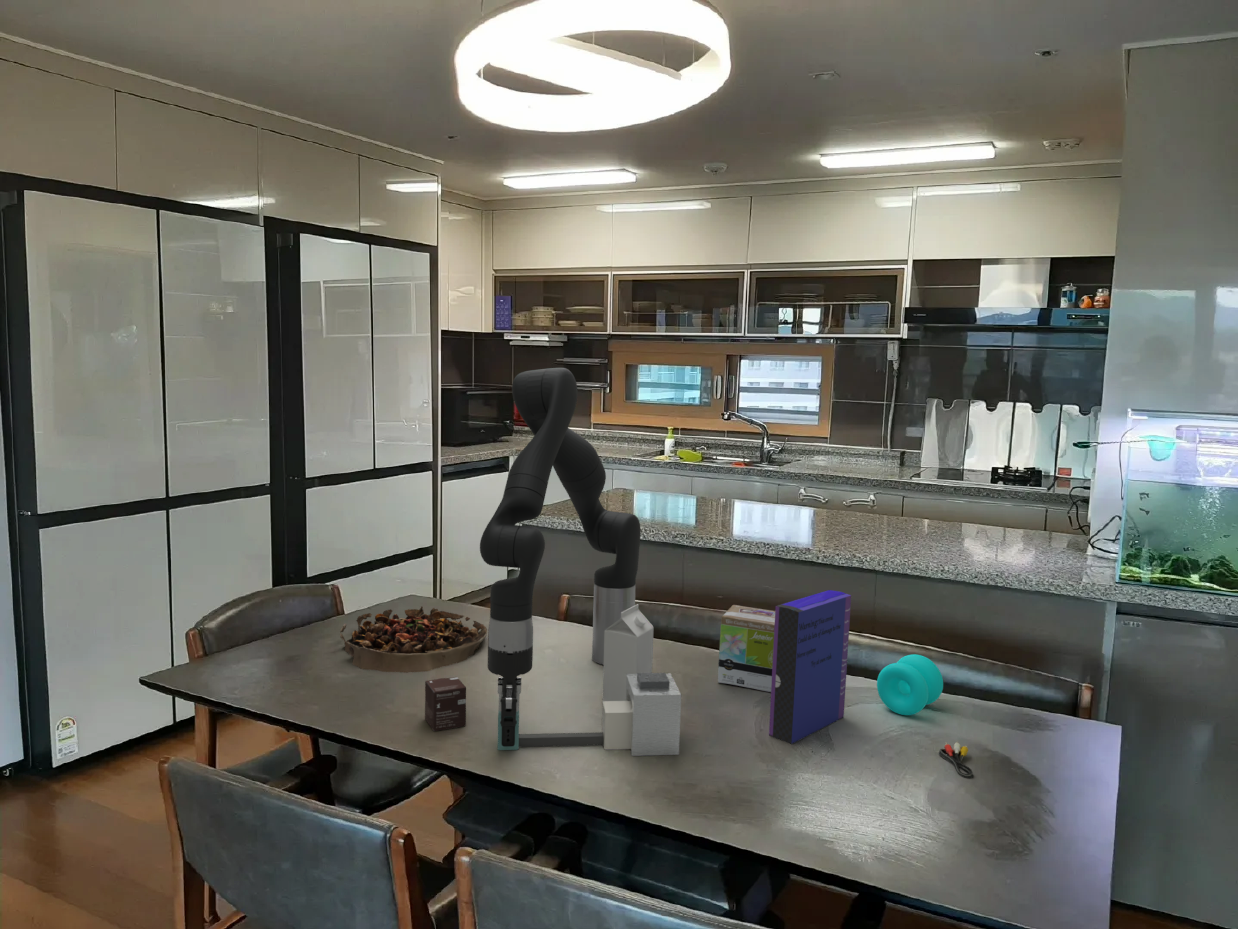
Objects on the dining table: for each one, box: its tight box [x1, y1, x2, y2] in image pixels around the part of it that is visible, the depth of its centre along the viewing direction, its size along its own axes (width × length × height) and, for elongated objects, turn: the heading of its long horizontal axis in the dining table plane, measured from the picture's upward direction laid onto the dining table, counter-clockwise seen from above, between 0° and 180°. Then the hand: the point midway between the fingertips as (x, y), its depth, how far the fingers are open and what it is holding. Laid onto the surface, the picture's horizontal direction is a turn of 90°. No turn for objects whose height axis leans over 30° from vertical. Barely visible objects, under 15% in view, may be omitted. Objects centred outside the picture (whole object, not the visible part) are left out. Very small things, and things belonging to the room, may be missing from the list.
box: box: [424, 676, 467, 732], centre depth 149 cm, size 6×6×7 cm
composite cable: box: [938, 741, 974, 779], centre depth 139 cm, size 10×5×2 cm, turn 165°
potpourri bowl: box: [339, 606, 488, 674], centre depth 190 cm, size 35×33×8 cm
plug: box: [497, 700, 633, 751], centre depth 142 cm, size 5×25×6 cm, turn 96°
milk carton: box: [601, 603, 654, 706], centre depth 160 cm, size 7×7×19 cm
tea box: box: [717, 604, 775, 693], centre depth 173 cm, size 15×10×15 cm, turn 68°
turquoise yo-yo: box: [876, 653, 944, 716], centre depth 162 cm, size 10×10×10 cm
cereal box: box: [768, 589, 852, 746], centre depth 151 cm, size 17×5×24 cm, turn 134°
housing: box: [625, 672, 682, 757], centre depth 143 cm, size 10×8×12 cm
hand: (508, 739), depth 141 cm, fingers closed on plug, 3 cm apart
